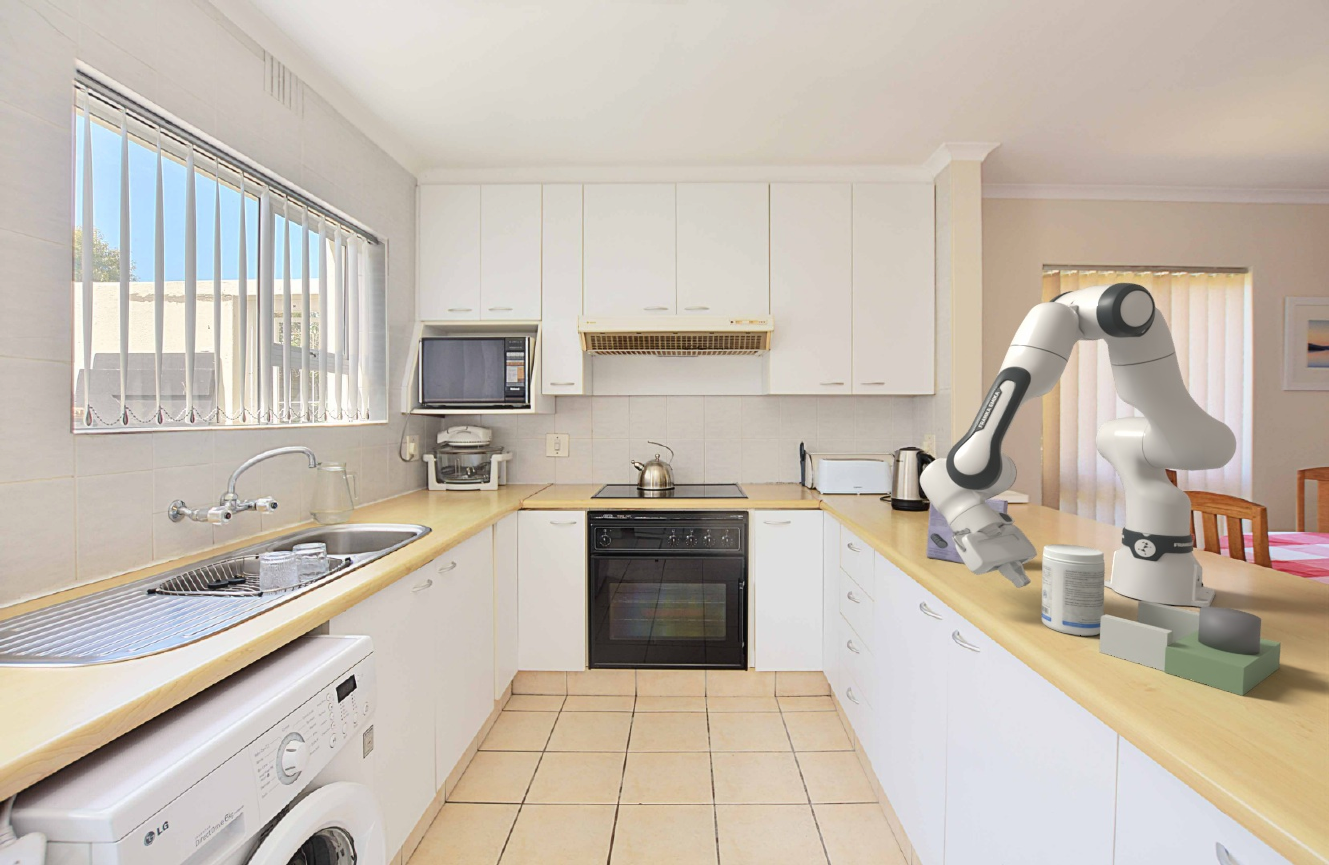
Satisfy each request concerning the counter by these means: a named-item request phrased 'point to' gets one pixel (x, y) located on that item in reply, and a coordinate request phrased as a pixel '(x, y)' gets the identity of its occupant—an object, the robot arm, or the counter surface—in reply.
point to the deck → (1194, 644)
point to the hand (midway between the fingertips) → (1024, 585)
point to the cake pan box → (950, 533)
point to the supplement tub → (1073, 589)
